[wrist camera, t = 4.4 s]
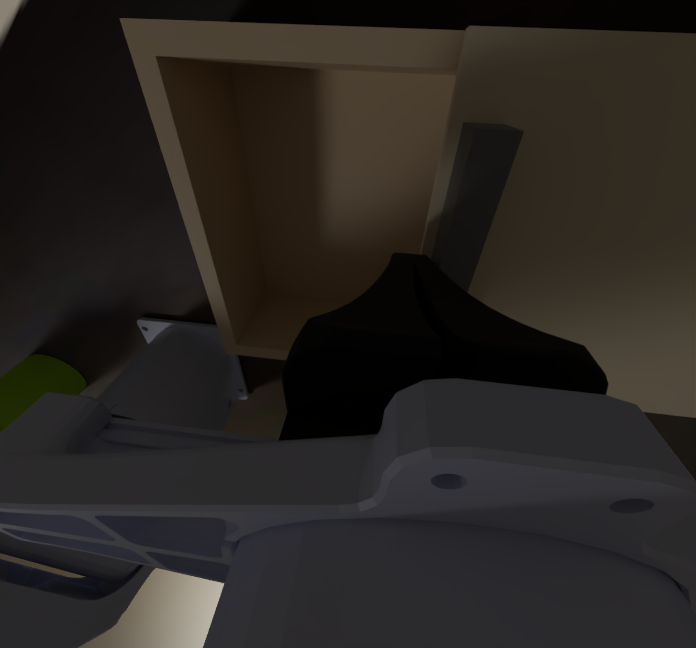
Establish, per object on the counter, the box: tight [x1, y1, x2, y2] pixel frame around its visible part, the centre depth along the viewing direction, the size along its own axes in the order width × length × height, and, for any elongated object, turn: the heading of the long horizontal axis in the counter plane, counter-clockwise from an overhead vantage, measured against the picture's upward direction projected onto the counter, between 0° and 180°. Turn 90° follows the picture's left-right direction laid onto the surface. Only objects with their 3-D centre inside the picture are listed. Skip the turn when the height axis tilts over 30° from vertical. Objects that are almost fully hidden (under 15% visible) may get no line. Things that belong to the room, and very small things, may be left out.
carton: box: [120, 18, 466, 360], centre depth 15 cm, size 14×16×6 cm
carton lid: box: [420, 26, 696, 418], centre depth 11 cm, size 14×16×2 cm
